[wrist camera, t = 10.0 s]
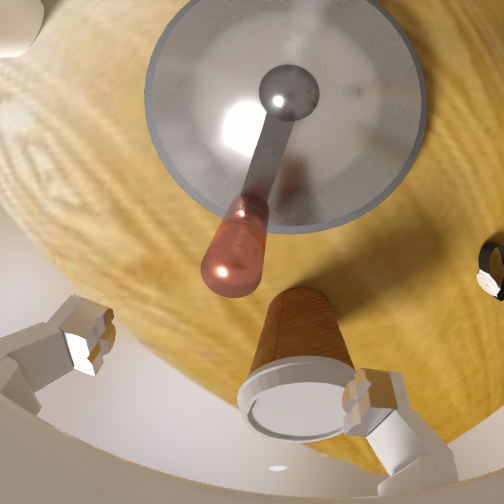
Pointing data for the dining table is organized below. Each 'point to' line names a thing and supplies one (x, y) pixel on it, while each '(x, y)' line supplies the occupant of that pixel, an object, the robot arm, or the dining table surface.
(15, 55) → the cylindrical container
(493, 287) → the watch
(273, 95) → the handwheel
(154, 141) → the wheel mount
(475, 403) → the dining table surface
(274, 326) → the disposable coffee cup
